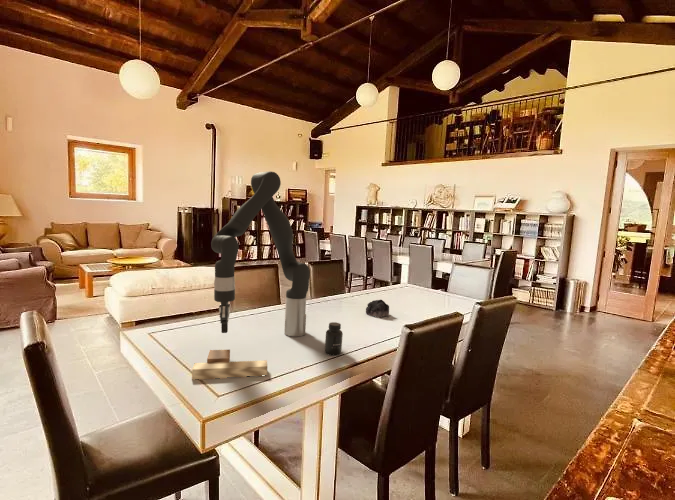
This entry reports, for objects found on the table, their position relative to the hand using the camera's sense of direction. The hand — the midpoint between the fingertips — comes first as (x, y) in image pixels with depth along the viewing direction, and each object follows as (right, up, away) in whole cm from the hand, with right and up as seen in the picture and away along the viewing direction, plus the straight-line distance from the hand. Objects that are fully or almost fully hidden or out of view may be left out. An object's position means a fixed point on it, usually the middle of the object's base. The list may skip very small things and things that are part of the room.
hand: (224, 332), depth 140 cm
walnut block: (+1, -10, -11) cm, 15 cm away
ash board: (+7, -11, -16) cm, 21 cm away
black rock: (+66, -6, +69) cm, 95 cm away
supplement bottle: (+41, -10, +8) cm, 43 cm away
